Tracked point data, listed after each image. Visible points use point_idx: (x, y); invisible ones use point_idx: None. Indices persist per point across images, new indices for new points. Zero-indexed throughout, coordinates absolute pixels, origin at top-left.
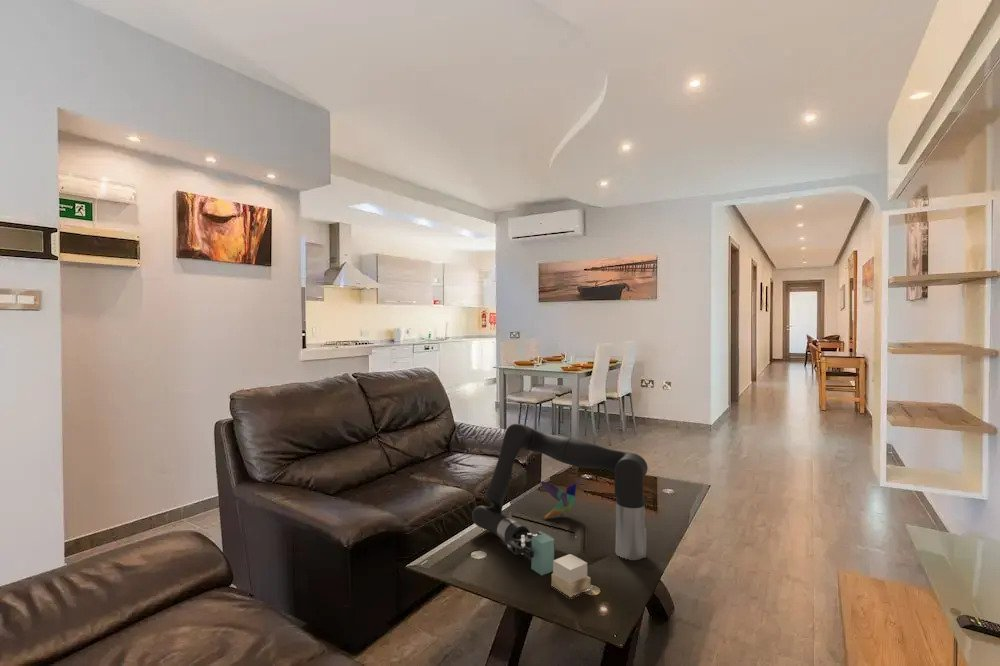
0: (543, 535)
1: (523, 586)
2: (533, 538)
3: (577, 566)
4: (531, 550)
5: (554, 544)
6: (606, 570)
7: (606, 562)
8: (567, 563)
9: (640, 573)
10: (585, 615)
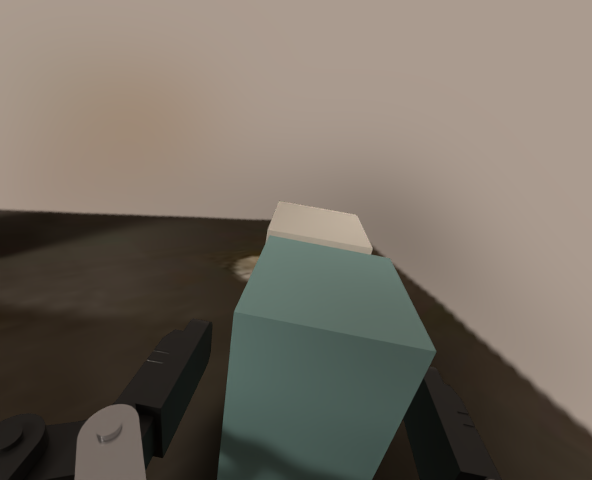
0: (280, 295)
1: (469, 415)
2: (423, 326)
3: (322, 209)
4: (432, 376)
5: (193, 319)
6: (115, 270)
7: (33, 283)
8: (337, 222)
9: (95, 225)
10: None
